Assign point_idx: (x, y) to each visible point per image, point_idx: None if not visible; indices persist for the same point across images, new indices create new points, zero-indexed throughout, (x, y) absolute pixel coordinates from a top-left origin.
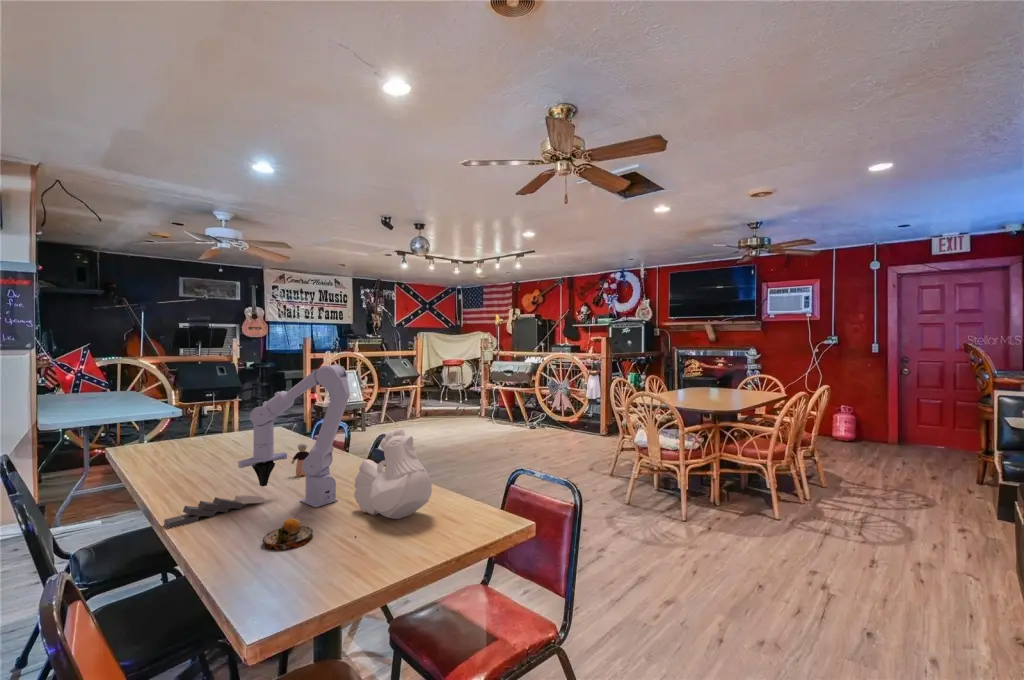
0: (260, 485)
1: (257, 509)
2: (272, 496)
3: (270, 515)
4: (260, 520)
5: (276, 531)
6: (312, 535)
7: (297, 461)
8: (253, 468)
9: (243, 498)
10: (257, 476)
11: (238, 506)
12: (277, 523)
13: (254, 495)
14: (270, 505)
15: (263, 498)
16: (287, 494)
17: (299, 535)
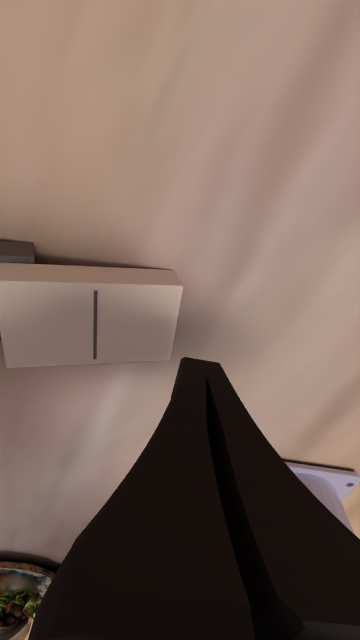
0: (178, 370)
1: (89, 387)
2: (280, 294)
3: (83, 467)
4: (33, 472)
5: (7, 566)
6: None
7: None
8: (101, 511)
9: (18, 365)
10: (165, 412)
11: None
12: (58, 516)
13: (157, 289)
14: (158, 395)
15: (165, 357)
16: (338, 342)
17: (45, 584)
